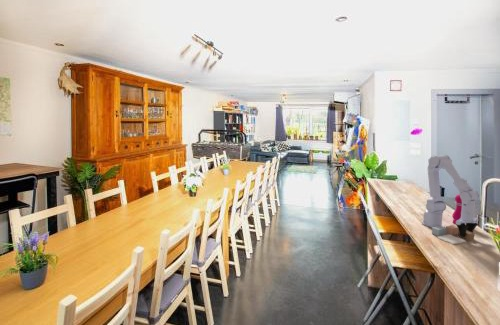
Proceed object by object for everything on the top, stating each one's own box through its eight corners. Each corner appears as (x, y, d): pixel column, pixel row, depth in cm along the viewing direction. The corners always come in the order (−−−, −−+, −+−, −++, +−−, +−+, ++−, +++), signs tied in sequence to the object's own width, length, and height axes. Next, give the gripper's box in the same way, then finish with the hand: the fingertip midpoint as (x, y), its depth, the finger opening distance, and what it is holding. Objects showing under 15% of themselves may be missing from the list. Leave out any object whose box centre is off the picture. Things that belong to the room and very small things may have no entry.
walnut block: (457, 236, 160) (458, 229, 160) (462, 235, 161) (463, 229, 161) (468, 240, 155) (469, 233, 154) (473, 239, 156) (474, 232, 155)
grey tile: (437, 238, 159) (437, 236, 159) (449, 235, 162) (449, 234, 161) (453, 244, 150) (453, 242, 150) (465, 241, 153) (465, 240, 153)
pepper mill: (452, 220, 185) (454, 190, 182) (466, 223, 180) (468, 192, 177) (451, 223, 179) (453, 192, 176) (465, 226, 175) (468, 194, 172)
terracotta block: (452, 235, 162) (452, 228, 162) (445, 232, 166) (445, 226, 165) (459, 233, 164) (459, 227, 164) (452, 231, 168) (452, 224, 167)
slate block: (438, 236, 161) (438, 229, 160) (431, 234, 165) (432, 227, 164) (446, 235, 163) (446, 228, 162) (439, 232, 167) (440, 226, 166)
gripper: (465, 215, 150) (463, 240, 152) (485, 212, 154) (482, 236, 156) (452, 211, 156) (450, 235, 158) (471, 208, 161) (469, 231, 163)
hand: (465, 235), depth 158 cm, fingers open, 5 cm apart
